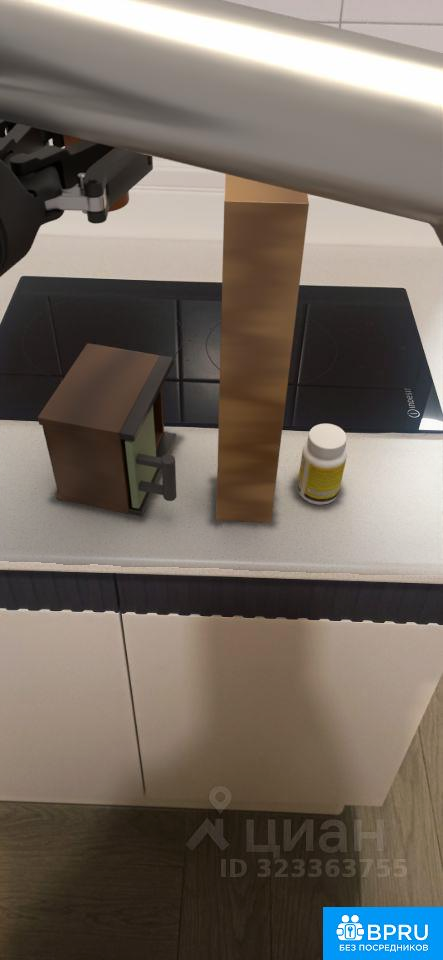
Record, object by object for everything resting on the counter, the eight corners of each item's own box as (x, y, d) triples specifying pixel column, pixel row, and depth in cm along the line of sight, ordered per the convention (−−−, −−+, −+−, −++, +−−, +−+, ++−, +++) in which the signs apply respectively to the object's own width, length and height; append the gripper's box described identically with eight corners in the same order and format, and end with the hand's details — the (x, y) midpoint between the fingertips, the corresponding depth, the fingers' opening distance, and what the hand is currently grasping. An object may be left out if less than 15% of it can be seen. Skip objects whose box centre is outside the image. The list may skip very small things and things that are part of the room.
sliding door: (191, 474, 75) (189, 408, 68) (174, 516, 71) (171, 450, 64) (150, 466, 76) (145, 400, 69) (132, 507, 72) (124, 441, 65)
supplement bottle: (347, 496, 75) (360, 441, 69) (313, 511, 73) (323, 457, 67) (321, 469, 78) (331, 415, 72) (288, 484, 76) (296, 429, 70)
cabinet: (176, 438, 81) (173, 357, 72) (142, 516, 72) (134, 435, 64) (99, 423, 83) (87, 343, 74) (56, 499, 74) (37, 417, 65)
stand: (269, 482, 76) (303, 169, 51) (271, 522, 72) (309, 203, 47) (217, 480, 76) (225, 166, 51) (216, 520, 72) (224, 200, 47)
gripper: (-152, 260, 43) (37, 139, 59) (89, 318, 39) (225, 172, 55) (-202, 138, 38) (21, 40, 53) (71, 191, 34) (228, 68, 49)
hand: (124, 107), depth 54 cm, fingers closed on amber bottle, 5 cm apart
